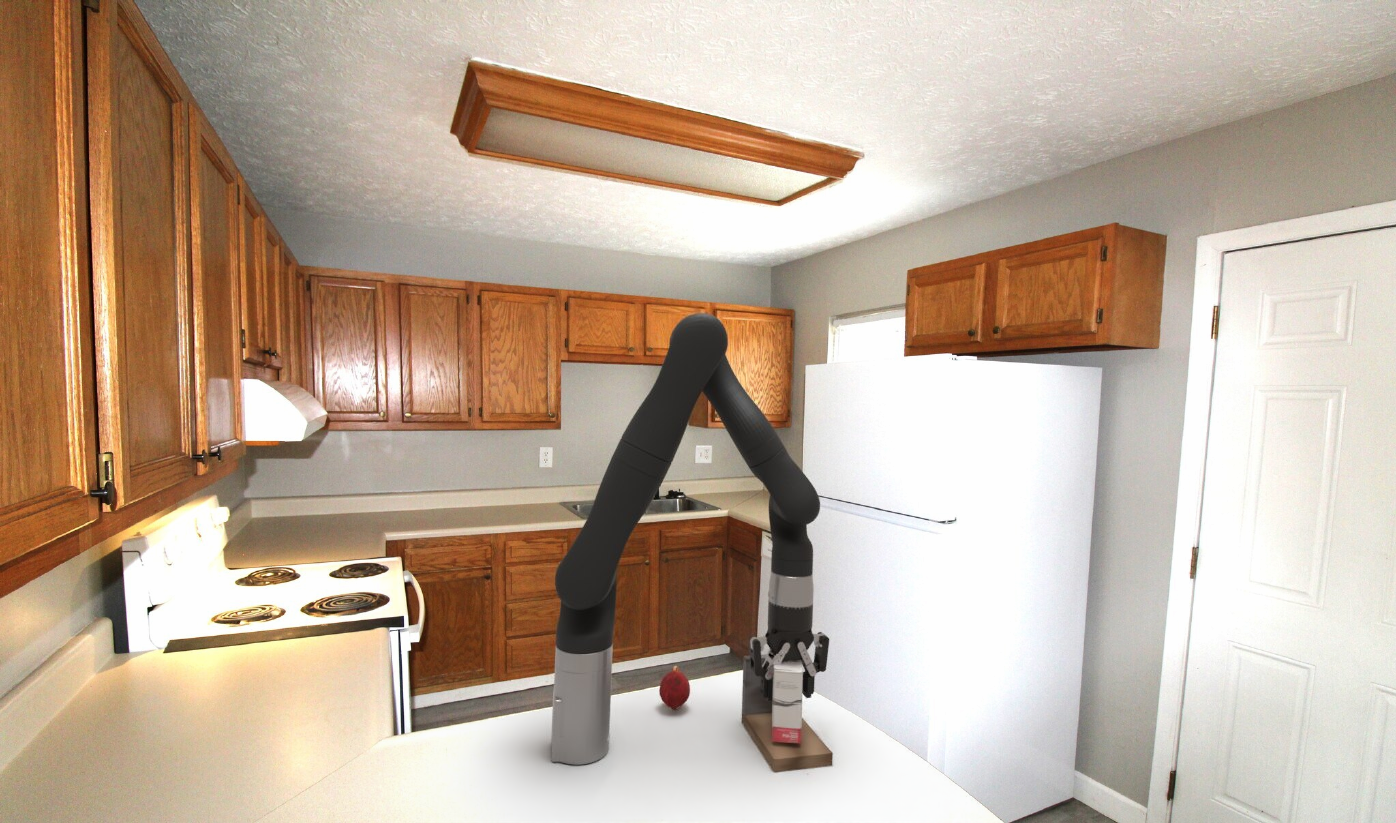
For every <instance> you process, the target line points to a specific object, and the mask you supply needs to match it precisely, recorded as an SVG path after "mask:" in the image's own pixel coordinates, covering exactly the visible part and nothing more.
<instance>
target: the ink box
mask: <svg viewBox="0 0 1396 823" xmlns="http://www.w3.org/2000/svg"><path fill="white" fill-rule="evenodd" d="M774 658H775V656H774ZM773 668H774V674H773V700H772V741H773V742H786V743H801V728H802V718H803V693H802V681H803V672H804V671H803V665H802V660H801V659H800V660H798V661H795V660H789V661H783V662H781V664H780V665H774V666H773Z"/></svg>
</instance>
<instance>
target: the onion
mask: <svg viewBox="0 0 1396 823" xmlns="http://www.w3.org/2000/svg"><path fill="white" fill-rule="evenodd" d="M660 681H661V682H660V685H659V690H658V691H659V692H658V693H659V697H660V700H661V701H662V703H663V704H664V705H665V706H666V707H668V708H670V709H671V710H673V711H675V710H677V709H679V708H681V706H683V705H684V704H685V703H686V702H687V701H688V699H689V698H690V694H691V685H690V682H689V679H688V678H687V676H686V675H685V674H684V673H683V672H681V671H680V667H679V666H677V665H675V666H673V667H672V670H671V671H670V672H668V673H667V674H666V675H664V676H663V678H662V679H661V680H660Z"/></svg>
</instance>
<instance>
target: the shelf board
mask: <svg viewBox="0 0 1396 823" xmlns="http://www.w3.org/2000/svg"><path fill="white" fill-rule="evenodd" d="M765 657H766V654H761V663H762V665H763V663H764V661H765ZM742 662H743V668H742V689H741V690H742V692H741V693H742V694H741V696H742V697H741V719H740V720H741V721H740V722H741V724H742V726H743V727H744V729H745V730H746V732H747V733H748V735H749V737H750V738H751V740H752V742H753V743H754V744H755V746H756V747H757V749H758V750H759V751H760V753H761V754H762V757H763V758H764V760H765V762H766V763H767V764H768V766H769V767H770V768H771V770H772V771H773V772H772V773H779V772H790V771H797V770H804V769H805V770H806V769H812V768H813V769H814V768H823V767H831V766H833V760H834V758H833V755H834V754H833V751H832V750H831V749H830V748H829V747H828V746H827V744H826V743H825V742H824V741H823V740H822V739H821V737H820V736H819V735H818V734H817V733H816V731H815V730H814V729H813V728H812V727H811V726H810V725H809V723H808V722H806V720H805V719H804V717H802V728H801V743H786V742H773V741H772V701H767V700H766V699H765V698H764V697H763V695H762V694H761V676H756V675H755V674H754V672H753V671H752V670H751V668H750V655H743V659H742ZM772 679H773V676H772ZM772 700H773V684H772Z"/></svg>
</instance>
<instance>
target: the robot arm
mask: <svg viewBox="0 0 1396 823" xmlns="http://www.w3.org/2000/svg"><path fill="white" fill-rule="evenodd" d="M728 339H729V337H728V333H727V330H726V327H725V325H724V324H723V322H722V321H721V320H720V319H719V318H718V317H717V316H714V315H713V314H710V313H705V312H698V313H691V314H690V315H687V316H685V317H684V318H682V319H681V320H680V321H679V322H678V323H677V324H676V325H675V327H674V328H673V329H672V332H671V333H670V337H669V344H668V345H669V346H668V349H667V352H666V355H665V358H664V360H663V363H662V365H661V368H660V370H659V373H658V375H657V378H656V380H655V382H654V384H653V385H652V388H651V389H650V391H649V392H648V394H647V395H646V397H645V398H644V400H643V401H642V402H641V404H640V405H639V407H638V409H636V412H635V414H633V416H632V418H631V420H630V422H629V423H628V425H626V428H625V430H624V431H623V433H622V435H621V438H620V439H619V442H618V443H617V446H616V448H615V450H614V452H613V454H612V456H611V458H610V460H609V463H608V466H607V468H606V470H605V472H604V474H603V477H602V480H601V482H600V485H599V487H598V490H597V493H596V495H595V498H594V501H593V504H592V507H591V509H590V511H589V514H588V516H587V518H586V520H585V522H584V525H583V526H582V528H581V529H580V531H579V532H578V535H577V537H575V539H574V542H573V543H572V545H571V546H570V548H569V549H568V551H567V552H566V554H565V555H564V557H563V558H562V559H561V560H560V561H559V564H558V565H557V568H556V571H555V576H554V588H555V591H556V594H557V596H558V598H559V600H560V607H559V608H560V609H559V614H558V615H559V616H558V621H557V626H556V630H555V631H556V632H555V652H554V653H555V655H554V656H555V657H554V675H553V676H554V678H553V679H554V681H553V687H552V689H553V690H552V691H553V692H552V714H551V715H552V716H551V739H550V740H551V742H550V744H551V746H550V747H551V748H550V750H551V762H553V763H555V762H559V763H564V764H566V765H567V764H568V765H586V764H592V763H595V762H597V761H599V760H602V758H604V757H605V756H606V755H607V754H608V752H609V749H610V736H611V733H610V730H611V729H610V725H611V724H610V723H611V703H612V702H611V700H612V699H611V698H612V677H613V676H612V672H613V671H612V669H613V647H614V646H613V644H614V643H613V642H614V630H615V629H614V628H615V621H616V620H615V619H616V604H617V586H618V585H617V584H618V583H617V580H618V565H619V563H620V561H621V559H622V555H623V553H624V550H625V548H626V546H627V543H628V541H629V539H630V537H631V535H632V533H633V532H634V530H635V528H636V526H637V525H638V523H639V522H640V520H641V518H642V517H643V515H644V514H645V513H646V511H647V510H648V508H649V506H650V505H651V503H652V502H653V499H655V496H656V495H657V492H658V491H659V489H660V488H661V487H662V486H661V485H662V484H663V482H664V480H665V478H666V475H667V474H668V471H669V469H670V467H671V466H672V463H673V461H674V459H675V456H676V454H677V452H678V450H679V448H680V445H681V442H682V440H683V437H684V434H685V432H686V430H687V427H688V424H689V422H690V419H691V416H692V413H693V410H694V408H695V406H696V404H697V402H698V400H699V398H700V396H701V394H702V393H703V395H704V396H705V398H706V399H707V400H708V401H709V403H710V405H711V406H712V407H713V409H714V411H715V413H716V414H717V416H718V418H719V419H720V421H721V422H722V424H723V426H724V428H725V429H726V432H727V433H728V435H729V437H730V438H731V440H732V442H733V444H734V445H735V447H736V449H737V451H738V452H739V454H740V455H741V457H742V458H743V460H744V462H745V463H746V465H747V467H748V469H749V470H750V471H751V473H752V474H753V475H754V477H755V478H756V479H758V480H759V481H760V482H761V483H762V484H763V485H764V487H765V488H766V490H767V492H768V493H769V499H768V519H769V528H770V529H769V530H770V536H771V543H772V544H771V545H772V548H771V561H770V563H771V564H770V577H769V583H768V592H767V597H768V604H767V631H766V633H765V635H763V636H757V637H756V636H755V635H754V634H753V635H750V636H749V638H748V645H749V646H748V648H749V651H748V652H749V656H750V668H751V670H752V671H753V672H754V674H755V675H756V676H761V694H762V695H763V697H764V698H765V699H766V700H767V701H772V684H773V679H772V676H773V674H774V668H773V666H774V665H780V664H781V662H783V661H789V660H795V661H798V660H800V659H801V660H802V668H803V669H804V671H802V672H803V679H802V696H804V697H805V699H811V698H812V695H813V694H814V692H815V676H816V675H817V674H818V673H820V672H821V673H823V672H826V670H827V665H828V655H829V646H830V638H829V637H828V636H827V635H826V634H825V633H823V632H822V631H818V632H817V633H813V630H812V629H813V618H814V616H813V615H814V592H815V590H814V578H813V577H814V574H813V570H814V569H813V568H814V546H813V544H812V541H811V540H810V538H809V536H808V527H807V525H809V524H811V523H812V522H814V521H815V520H816V518H818V516H819V514H820V511H821V510H820V509H821V499H820V496H819V494H818V491H817V490H816V488H815V487H814V485H813V483H812V482H811V481H810V479H809V478H808V477H807V475H806V474H805V473H804V472H803V470H802V469H801V467H799V465H798V464H797V463H796V462H795V461H794V459H793V458H792V457H791V455H790V454H789V452H788V450H787V449H786V446H785V445H784V443H783V441H782V440H781V438H780V437H779V435H778V433H777V431H776V430H775V428H774V427H773V425H772V424H771V422H770V421H769V419H768V418H767V417H766V415H765V414H764V412H763V411H762V410H761V409H760V407H758V405H757V403H755V402H754V400H753V399H752V398H751V396H750V395H749V393H748V392H747V391H746V389H745V388H744V387H743V386H742V384H741V382H740V381H739V379H738V378H737V375H736V373H735V372H734V371H733V368H732V367H731V364H730V362H729V359H728V358H727V357H728V356H727V355H726V353H727V350H728V346H729V342H728ZM766 644H767V646H768V648H769V649H768V651H767V653H766V654H765V655H766V657H765V661H764V663H763V665H762V663H761V655H762V651H764V649H765V646H766ZM812 644H813V645H814V647H815V648H814V657H813V660H812V658H811V655H810V654H809V652H808V650H809V648H810V647H811V646H812ZM774 656H775V658H774Z"/></svg>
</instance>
